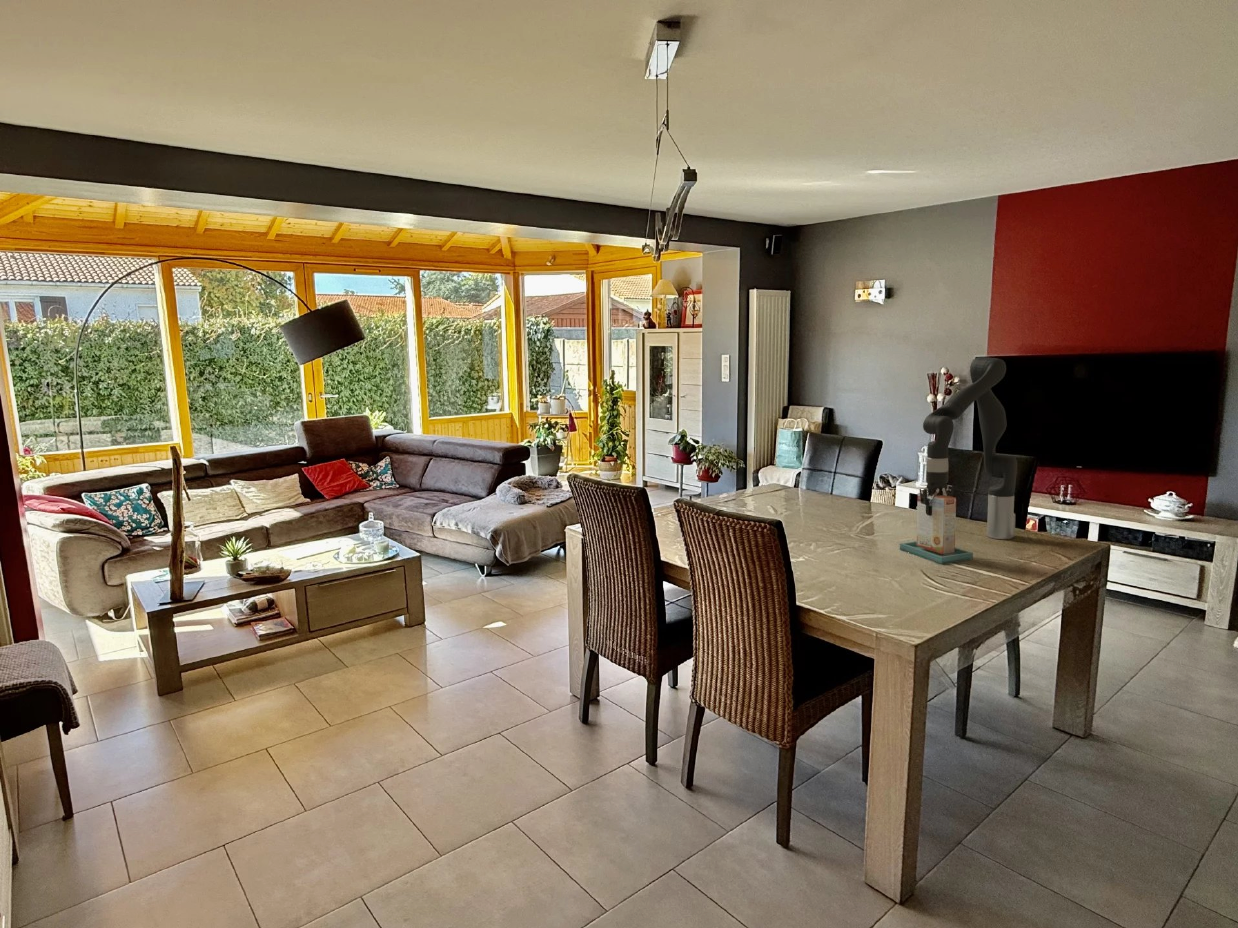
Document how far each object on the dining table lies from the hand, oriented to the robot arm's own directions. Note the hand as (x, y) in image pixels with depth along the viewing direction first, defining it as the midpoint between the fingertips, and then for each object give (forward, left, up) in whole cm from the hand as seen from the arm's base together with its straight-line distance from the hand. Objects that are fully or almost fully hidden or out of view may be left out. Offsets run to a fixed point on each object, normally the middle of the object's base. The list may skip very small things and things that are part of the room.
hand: (936, 514), depth 272 cm
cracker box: (0, 0, -14) cm, 14 cm away
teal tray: (0, 0, -15) cm, 15 cm away
